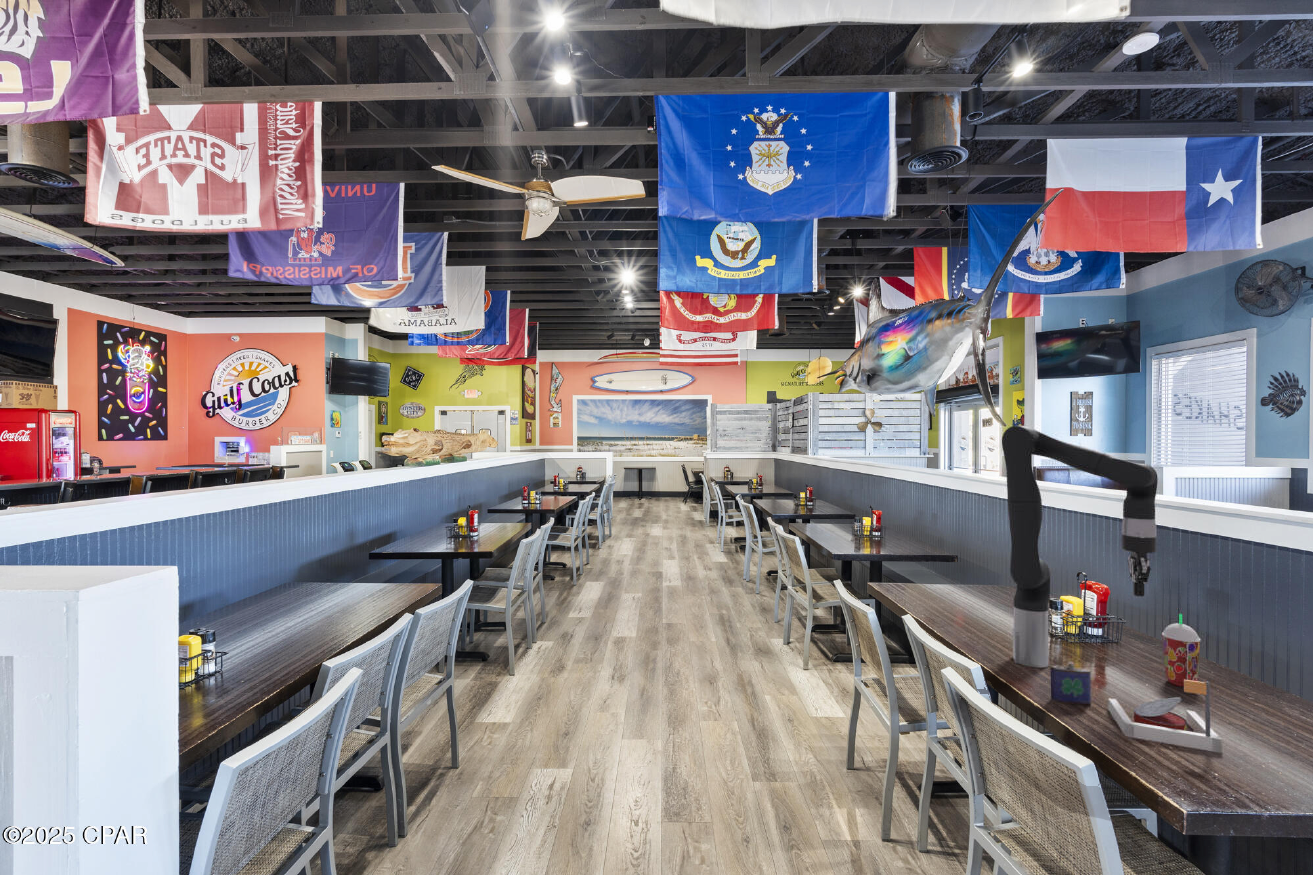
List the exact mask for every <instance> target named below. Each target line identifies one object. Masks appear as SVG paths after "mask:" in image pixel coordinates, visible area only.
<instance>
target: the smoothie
mask: <svg viewBox="0 0 1313 875" xmlns="http://www.w3.org/2000/svg"><path fill="white" fill-rule="evenodd" d="M1178 618H1179V619H1178V622H1176V623H1171V624H1169V625H1167V626H1166V627H1165V629H1164V630H1163V631H1162V632H1161V638H1162V645H1163V646H1162V648H1163V659H1164V668H1165V670H1164V671H1165V677H1166V678H1167V680H1168V682H1169V683H1171V684H1173V685H1175V686H1177V687H1182V688H1184V680H1191V681H1198V680H1199V679H1198V678H1199V668H1200V666H1199V665H1200V650H1201V638H1200V636H1199V635H1198V633H1197V631H1195V630H1194V628H1192V627H1190V626H1189V625H1187V624H1184V623H1183V614H1182V613H1179V614H1178Z"/></svg>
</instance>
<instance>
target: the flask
mask: <svg viewBox="0 0 1313 875" xmlns="http://www.w3.org/2000/svg"><path fill="white" fill-rule="evenodd" d="M1075 665H1076V664H1074V662H1073V661H1069V662H1068V664H1067V665H1065V666H1064V665H1059V664H1056V665H1052V666H1050V668H1049V669H1050V700H1051V701H1052V702H1055V703H1058V704H1060V703H1061V704H1064V705H1065V704H1066V705H1076V706H1077V705H1079V706H1091V705H1092V691H1091V690H1092V688H1091V685H1092V684H1091V683H1092V682H1091V678H1092V677H1091V671H1090V670H1089V669H1088V668H1078V667H1075Z"/></svg>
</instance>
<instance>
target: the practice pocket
mask: <svg viewBox="0 0 1313 875" xmlns="http://www.w3.org/2000/svg"><path fill="white" fill-rule="evenodd" d="M1210 685H1211V684H1210V681H1206V680H1205V681H1191V680H1184V687H1183V691H1184V693H1190V694H1197V695H1204V708H1205V711H1204V712H1205V713H1204V715H1205V716H1204V717H1205V718H1204V719H1205V720H1203V718H1202V717H1201V716H1199V714H1198V713H1197V712H1196V711H1194V710H1193V711H1192V710H1187V709H1185V716H1186V718H1185V720H1186V721H1187V726H1189V727H1190V728H1191V730H1192V731H1189V730H1187V731H1184V730H1178V729H1172V728H1166V727H1159V726H1153V725H1147V724H1141V723H1135V722H1134V721H1133V720H1131V719H1130V717H1129V716H1128V714H1127V713H1126V711H1125V710H1124V708H1123V707H1122V706H1121V704H1120V703H1119V702H1118V700H1117V699H1115V698H1110V697H1109V698H1108V699H1107V701H1108V702H1107V703H1108V704H1107V705H1108V706H1107V707H1108V708H1107V710H1108V712H1109V713H1110V715H1111V716H1112V718H1113V719H1114V720H1115V722H1116V724H1117V725H1118V727H1119V728H1120V730H1121V731H1122V732H1121V733H1123V735H1124V736H1125V737H1129V738H1134V739H1139V740H1144V741H1145V740H1146V741H1150V740H1151V741H1150V742H1155V743H1162V742H1163V743H1162V744H1168V745H1173V744H1174V745H1175V746H1179V747H1184V748H1191V749H1195V750H1202V751H1203V750H1204V751H1209V752H1213V753H1220V754H1222V753H1223V739H1222V738H1221V737H1220V735H1218V734H1217V733H1216V732H1215V730H1213V728H1211V686H1210Z"/></svg>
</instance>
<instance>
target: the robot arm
mask: <svg viewBox="0 0 1313 875" xmlns="http://www.w3.org/2000/svg"><path fill="white" fill-rule="evenodd" d="M1001 445H1002V450H1003V457H1004V462H1005V471H1006V489H1007V490H1006V491H1007V512H1008V521H1009V523H1008V524H1009V534H1010V539H1011V540H1010V542H1011V551H1010V552H1011V553H1010V565H1009V567H1010V568H1009V569H1010V571H1009V572H1010V577H1011V578H1012V581H1013V582H1014V583H1015V584H1016V592H1015V594H1014V597H1013V628H1012V658H1013V661H1014V663H1015V664H1019V665H1022V666H1026V667H1030V668H1032V667H1033V668H1041V669H1042V668H1047V667H1049V603H1050V599H1051V598H1050V597H1051V570H1050V568H1049V566H1048V564H1047V563H1046V562H1045V561H1044V560H1043V559H1041V558H1040V554H1039V537H1040V534H1041V529H1042V523H1043V504H1042V502H1043V501H1042V495H1041V492H1040V488H1039V485H1038V482H1037V480H1036V477H1035V474H1034V471H1033V460H1032V459H1033V458H1032V455H1033V456H1039V457H1044V458H1049V459H1051V460H1055V461H1057V462H1060V463H1061V464H1064V465H1066V466H1069V467H1070V468H1073V469H1076V470H1077V471H1082V472H1084V473H1088V474H1091V475H1093V476H1097V477H1101V478H1104V479H1107V480H1109V481H1112V482H1114V483H1117V484H1119V485H1122V486H1124V487H1126V496H1125V499H1124V500H1123V502H1122V503H1123V504H1122V507H1123V508H1122V523H1121V548H1122V550H1124V551H1127V552H1130V555H1129V556H1128V558H1127V563H1128V569H1129V577H1130V578H1131V580H1132V594H1133V595H1134V596H1135V597H1142V598H1143V597H1145V584H1146V583H1148V581H1149V577H1150V574H1151V571H1152V567H1151V566H1150V559H1148V554H1155V553H1156V552H1157V524H1156V504H1155V502H1156V496H1157V489H1158V482H1159V481H1158V480H1159V479H1158V472H1157V471H1156V469H1155V468H1154V467H1153V466H1152V465H1149V464H1147V463H1136V462H1134V461H1133V462H1132V461H1129V460H1126V459H1121V458H1117V457H1116V456H1115V455H1113V454H1109V453H1106V452H1103V451H1100V450H1096V449H1093V448H1089V447H1085V446H1082V445H1077V444H1074V443H1069V442H1066V441H1064V440H1063V441H1062V440H1060V439H1057V438H1055V437H1053V436H1050V435H1047V434H1045V433H1043V432H1040V431H1039V430H1037V429H1035V428H1033V427H1031V426H1027V425H1012V426H1009V427H1008V428H1007V429H1006V430H1004V432H1003V434H1002V436H1001Z"/></svg>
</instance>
